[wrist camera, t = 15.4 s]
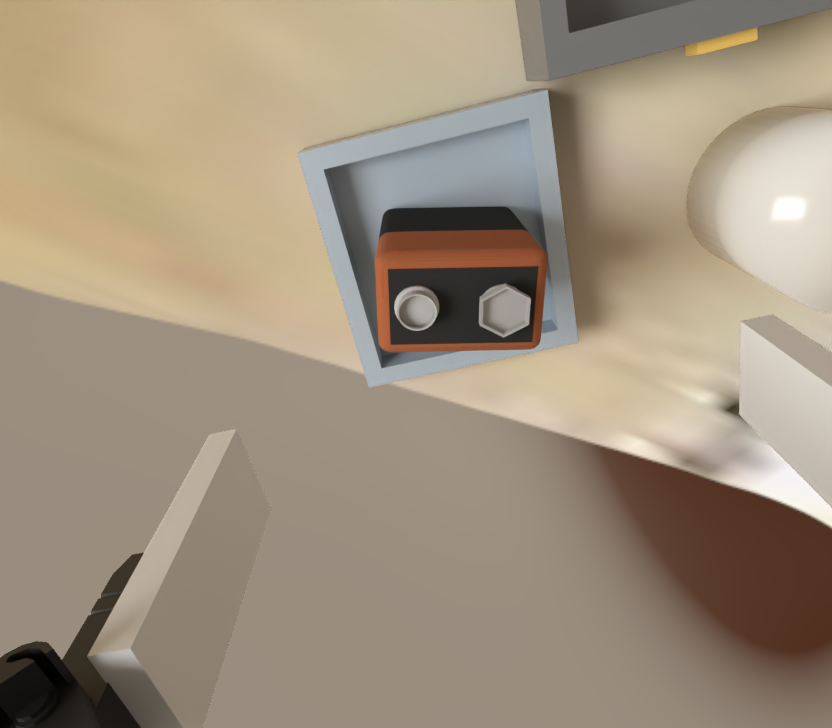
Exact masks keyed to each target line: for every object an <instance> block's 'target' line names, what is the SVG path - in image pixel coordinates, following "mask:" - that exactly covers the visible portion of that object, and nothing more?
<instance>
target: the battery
mask: <svg viewBox="0 0 832 728" xmlns="http://www.w3.org/2000/svg"><path fill="white" fill-rule="evenodd" d="M546 273H547V255H546V253H545V251H544V250H543V249H542V248H541V246H540V245H539V244H538V243H537V242H536V240H535V239H534V238H533V237H532V235H531V234H530V233H529V232H528V230H527V229H526V228H525V227H524V226H523V224H522V223H521V222H520V221H519V219H518V218H517V217H516V216H515V214H514V213H513V212H512V211H511V210H510V209H509V208H507V207H441V208H394V209H389V210H387V211H386V212H385V213H384V214H383V217H382V223H381V228H380V234H379V240H378V245H377V251H376V257H375V279H376V301H377V322H378V341H379V346H380V347H381V348H382V349H383V350H385V351H388V352H434V351H487V350H528V349H533V348H535V347H537V346H538V345H539V343H540V340H541V330H542V319H543V307H544V296H545V284H546Z"/></svg>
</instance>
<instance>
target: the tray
mask: <svg viewBox="0 0 832 728" xmlns="http://www.w3.org/2000/svg"><path fill="white" fill-rule="evenodd" d="M297 155H298V158H299V161H300V165H301V168H302V171H303V174H304V178H305V181H306V184H307V187H308V191H309V194H310V197H311V200H312V204H313V207H314V210H315V213H316V217H317V220H318V223H319V226H320V230H321V233H322V236H323V239H324V243H325V246H326V249H327V252H328V256H329V259H330V262H331V265H332V269H333V272H334V275H335V278H336V282H337V285H338V288H339V292H340V295H341V298H342V301H343V305H344V308H345V311H346V314H347V318H348V321H349V324H350V327H351V331H352V334H353V337H354V340H355V344H356V347H357V350H358V353H359V357H360V360H361V363H362V366H363V370H364V373H365V376H366V379H367V383H368V386H369V387H373V386H378V385H383V384H387V383H392V382H396V381H401V380H406V379H410V378H415V377H420V376H424V375H429V374H434V373H438V372H443V371H448V370H452V369H457V368H462V367H466V366H471V365H475V364H480V363H485V362H489V361H494V360H499V359H503V358H508V357H513V356H517V355H522V354H527V353H531V352H536V351H541V350H545V349H550V348H554V347H559V346H564V345H568V344H573V343H578V335H577V327H576V318H575V310H574V302H573V294H572V286H571V277H570V269H569V261H568V253H567V244H566V236H565V228H564V220H563V211H562V203H561V195H560V187H559V178H558V170H557V162H556V154H555V146H554V137H553V129H552V121H551V113H550V104H549V96H548V90H547V89H536V90H532V91H528V92H524V93H520V94H516V95H512V96H508V97H504V98H501V99H497V100H493V101H489V102H485V103H481V104H477V105H473V106H469V107H465V108H461V109H457V110H453V111H449V112H446V113H442V114H438V115H434V116H430V117H426V118H422V119H418V120H414V121H410V122H406V123H402V124H398V125H395V126H391V127H387V128H383V129H379V130H375V131H371V132H367V133H363V134H359V135H355V136H351V137H347V138H344V139H340V140H336V141H332V142H328V143H324V144H320V145H316V146H312V147H308V148H304V149H303V150H301V151H300V152H298V153H297ZM441 207H507V208H509V209H510V210H511V211H512V212H513V213H514V214H515V216H516V217H517V218H518V219H519V221H520V222H521V223H522V224H523V226H524V227H525V228H526V229H527V230H528V232H529V233H530V234H531V235H532V237H533V238H534V239H535V240H536V242H537V243H538V244H539V245H540V246H541V248H542V249H543V250H544V251H545V253H546V255H547V273H546V284H545V296H544V307H543V319H542V330H541V340H540V343H539V345H538V346H537V347H535V348H533V349H528V350H487V351H434V352H388V351H385V350H383V349H382V348H381V347H380V346H379V341H378V322H377V301H376V279H375V257H376V251H377V245H378V240H379V234H380V228H381V223H382V217H383V214H384V213H385V212H386V211H387V210H389V209H394V208H441Z"/></svg>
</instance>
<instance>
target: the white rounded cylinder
mask: <svg viewBox="0 0 832 728" xmlns="http://www.w3.org/2000/svg"><path fill="white" fill-rule="evenodd" d="M687 216H688V220H689V224H690V227H691V229H692V232H693V234H694V235H695V237H696V239H697V240H698V241H699V243H700V244H701V245H702V246H703V247H704V248H705V249H706V250H708V251H709V252H710V253H712V254H714V255H715V256H717V257H719V258H721V259H722V260H724V261H726V262H728V263H729V264H731V265H733V266H735V267H736V268H738V269H740V270H742V271H744V272H745V273H747V274H749V275H751V276H752V277H754V278H756V279H758V280H759V281H761V282H763V283H765V284H766V285H768V286H770V287H772V288H774V289H775V290H777V291H779V292H781V293H782V294H784V295H786V296H788V297H789V298H791V299H793V300H795V301H797V302H798V303H800V304H802V305H804V306H805V307H808V308H811V309H813V310H816V311H820V312H825V313H832V110H831V109H817V108H802V107H787V106H785V107H772V108H767V109H763V110H760V111H756V112H754V113H751V114H749V115H747V116H745V117H743V118H741V119H739V120H738V121H736V122H734V123H733V124H732V125H730V126H729V127H728V128H726V129H725V130H724V131H723V132H722V133H721V134H720V135H718V136H717V137H716V138H715V139H714V141H713V142H712V143H711V144H710V145H709V146H708V148H707V149H706V150H705V152H704V153H703V155H702V156H701V158H700V160H699V162H698V163H697V165H696V167H695V170H694V172H693V174H692V177H691V180H690V184H689V187H688V193H687Z"/></svg>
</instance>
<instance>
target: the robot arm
mask: <svg viewBox="0 0 832 728" xmlns="http://www.w3.org/2000/svg"><path fill="white" fill-rule="evenodd" d="M739 415H740V416H741V417H742V418H743V419H744V420H745V421H746V422H747V423H748V424H749V425H750V426H751V427H752V428H753V429H754V430H755V431H756V432H757V433H758V434H759V435H760V436H761V437H762V438H763V439H764V440H765V441H766V442H767V443H768V444H769V445H770V446H771V447H772V448H773V449H774V450H775V451H776V452H777V453H778V454H779V455H780V456H781V457H782V458H783V459H784V460H785V461H786V462H787V463H788V464H789V465H790V466H791V467H792V468H793V469H794V470H795V471H796V472H797V473H798V474H799V475H800V476H801V477H802V478H803V479H804V480H805V481H806V482H807V483H808V484H809V485H810V486H811V487H812V488H813V489H814V490H815V491H816V492H817V493H818V494H819V495H820V496H821V497H822V498H823V499H824V500H825V501H826V502H827V503H828V504H829V505H830V506H831V507H832V352H830V351H829V350H827V349H826V348H824V347H823V346H821V345H820V344H818V343H816V342H815V341H813V340H812V339H810V338H809V337H807V336H806V335H804V334H802V333H801V332H799V331H798V330H796V329H795V328H793V327H792V326H790V325H788V324H787V323H785V322H784V321H782V320H781V319H779V318H778V317H776V316H774V315H773V314H772V315H768V316H763V317H758V318H754V319H749V320H744V321H741V344H740V411H739ZM270 511H271V507H270V504H269V502H268V499H267V497H266V495H265V493H264V490H263V488H262V486H261V484H260V481H259V479H258V477H257V474H256V472H255V470H254V468H253V465H252V463H251V461H250V459H249V456H248V454H247V452H246V450H245V447H244V445H243V443H242V440H241V438H240V436H239V433H238V431H237V429H233V430H229V431H224V432H220V433H215V434H210V435H209V436H208V438H207V440H206V442H205V443H204V445H203V447H202V449H201V451H200V452H199V454H198V456H197V458H196V460H195V462H194V463H193V465H192V467H191V469H190V471H189V472H188V474H187V476H186V478H185V480H184V481H183V483H182V485H181V487H180V489H179V490H178V493H177V494H176V496H175V498H174V500H173V501H172V503H171V505H170V507H169V509H168V510H167V512H166V514H165V516H164V518H163V520H162V521H161V523H160V525H159V527H158V529H157V530H156V532H155V534H154V536H153V538H152V540H151V542H150V543H149V545H148V547H147V548H146V550H145V552H144V553H139V554H134V555H131V556H130V558H129V559H127V561H126V562H125V563H124V564H123V565H122V566H121V567H120V568H119V569H118V570H117V571H116V572H115V573H114V574H113V575H112V577H111V578H110V580H109V582H108V583H107V585H106V587H105V589H104V590H103V592H102V594H101V598H100V599H98V601H97V602H96V604H95V606H94V607H93V609H92V611H91V615H90V616H88V617H87V619H86V621H85V622H84V624H83V626H82V628H81V629H80V631H79V633H78V634H77V636H76V638H75V639H74V641H73V643H72V644H71V646H70V648H69V649H68V651H67V653H66V655H65V656H64V658H63V660H61V659H60V657H59V656H58V655H57V653H56V652H55V651H54V649H53V648H52V647H51V646H50V645H49V644H48V643H47V642H37V641H36V642H32V643H29V644H25V645H22V646H20V647H18V648H16V649H14V650H12V651H10V652H8V653H6V654H5V655H3V656H2V657H1V658H0V728H203V724H204V721H205V718H206V715H207V712H208V708H209V705H210V702H211V699H212V696H213V693H214V689H215V686H216V683H217V680H218V676H219V673H220V670H221V667H222V664H223V661H224V657H225V654H226V651H227V648H228V645H229V642H230V638H231V635H232V632H233V629H234V625H235V622H236V619H237V616H238V613H239V610H240V606H241V603H242V600H243V597H244V594H245V590H246V587H247V584H248V581H249V578H250V575H251V571H252V568H253V565H254V561H255V558H256V555H257V552H258V549H259V546H260V542H261V539H262V536H263V533H264V530H265V526H266V523H267V520H268V517H269V514H270Z"/></svg>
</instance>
